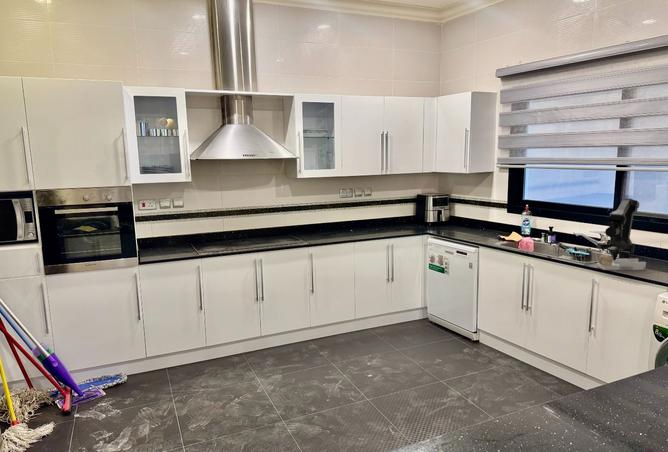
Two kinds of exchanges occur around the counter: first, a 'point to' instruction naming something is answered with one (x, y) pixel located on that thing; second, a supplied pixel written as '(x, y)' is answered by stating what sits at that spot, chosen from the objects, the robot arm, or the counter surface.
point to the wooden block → (605, 260)
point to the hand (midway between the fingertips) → (614, 260)
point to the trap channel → (624, 265)
